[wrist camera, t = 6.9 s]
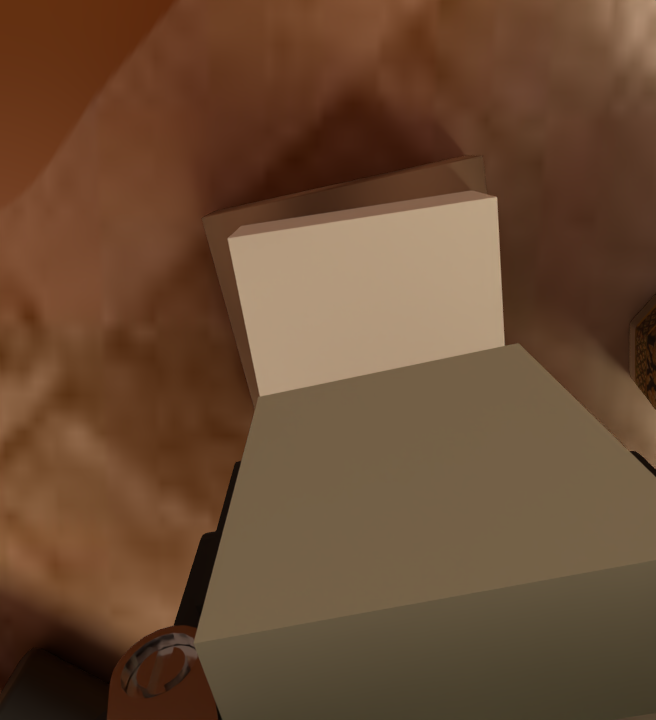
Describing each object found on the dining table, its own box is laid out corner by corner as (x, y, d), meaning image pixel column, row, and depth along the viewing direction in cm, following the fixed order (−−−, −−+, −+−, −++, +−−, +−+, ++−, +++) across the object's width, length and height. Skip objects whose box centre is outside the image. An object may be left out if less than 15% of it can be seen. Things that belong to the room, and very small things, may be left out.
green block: (518, 343, 11) (726, 546, 5) (543, 559, 13) (723, 893, 7) (258, 396, 11) (193, 643, 6) (316, 601, 13) (310, 952, 7)
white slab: (471, 190, 23) (496, 196, 19) (485, 403, 26) (509, 440, 22) (241, 225, 23) (227, 238, 20) (281, 431, 26) (275, 472, 23)
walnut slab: (462, 155, 25) (482, 155, 22) (492, 386, 29) (513, 415, 26) (216, 209, 26) (201, 217, 23) (275, 428, 30) (269, 462, 26)
